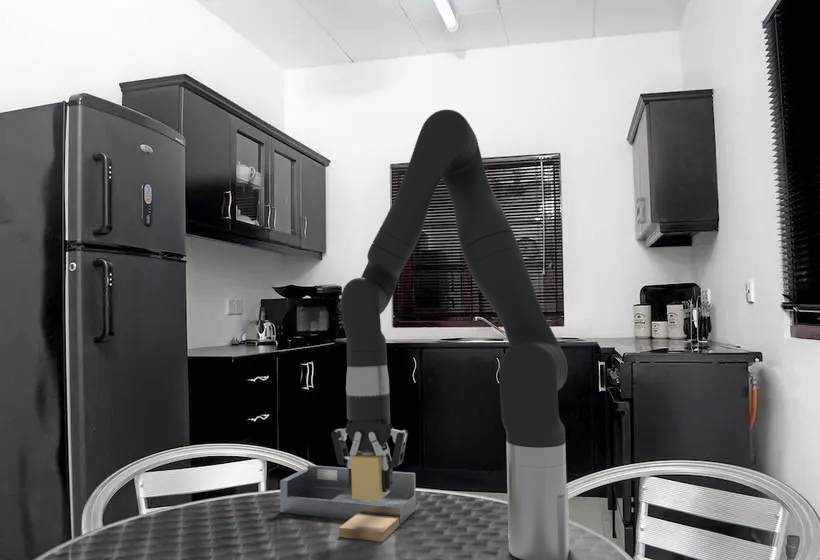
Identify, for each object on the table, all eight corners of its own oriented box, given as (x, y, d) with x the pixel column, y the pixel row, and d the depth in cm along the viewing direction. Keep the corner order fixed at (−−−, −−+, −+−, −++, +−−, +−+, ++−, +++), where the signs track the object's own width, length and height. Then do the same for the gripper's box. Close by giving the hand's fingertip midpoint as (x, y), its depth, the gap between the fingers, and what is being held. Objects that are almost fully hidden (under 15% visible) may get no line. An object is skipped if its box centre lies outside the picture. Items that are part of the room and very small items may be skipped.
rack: (415, 510, 117) (415, 473, 117) (400, 524, 109) (399, 485, 109) (302, 499, 125) (302, 464, 125) (280, 512, 117) (280, 475, 117)
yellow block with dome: (389, 492, 107) (388, 448, 108) (379, 500, 102) (377, 454, 103) (363, 491, 109) (362, 447, 109) (352, 498, 104) (350, 453, 104)
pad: (399, 525, 108) (399, 517, 108) (382, 541, 101) (382, 532, 101) (358, 521, 111) (358, 513, 111) (339, 536, 103) (339, 527, 103)
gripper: (413, 389, 108) (416, 486, 107) (339, 389, 113) (342, 482, 111) (399, 394, 101) (402, 498, 100) (321, 394, 105) (323, 494, 104)
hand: (370, 489), depth 105 cm, fingers closed on yellow block with dome, 5 cm apart
